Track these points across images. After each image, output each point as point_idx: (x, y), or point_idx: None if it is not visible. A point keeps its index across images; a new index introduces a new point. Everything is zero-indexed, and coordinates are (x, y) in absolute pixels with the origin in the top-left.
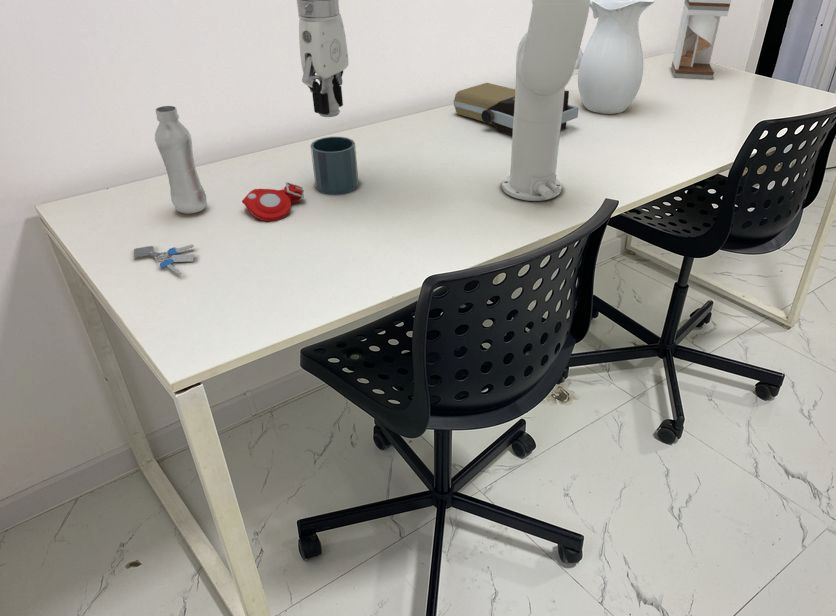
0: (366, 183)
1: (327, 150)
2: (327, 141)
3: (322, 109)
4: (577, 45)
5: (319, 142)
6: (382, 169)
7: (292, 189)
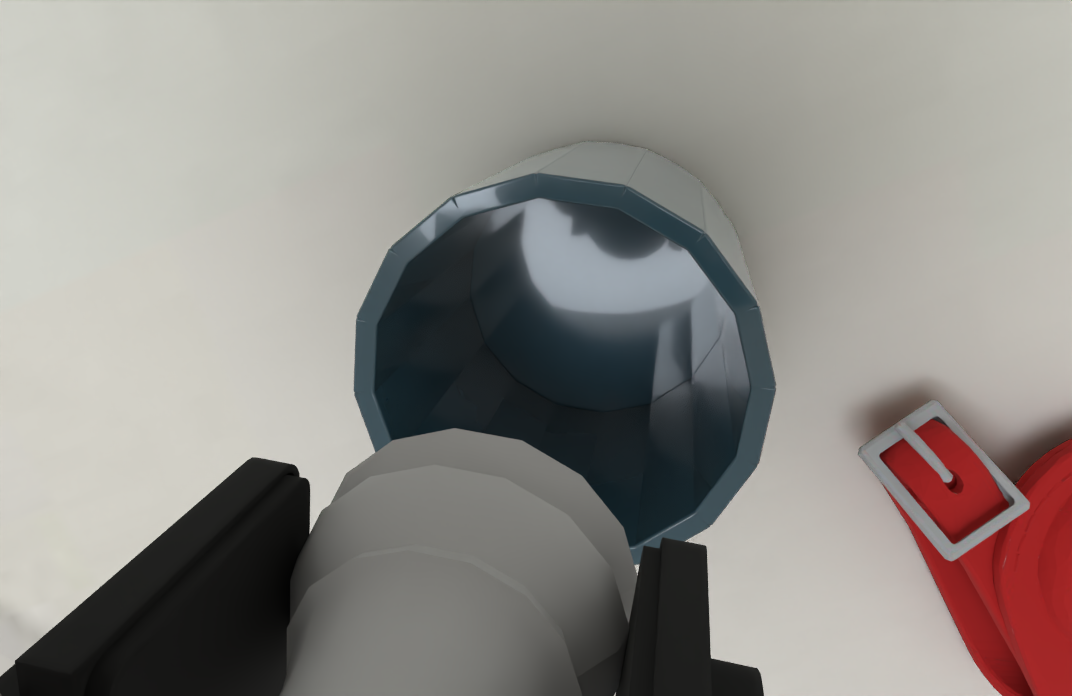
0: (508, 103)
1: None
2: None
3: (740, 666)
4: None
5: None
6: (258, 84)
7: (976, 490)
